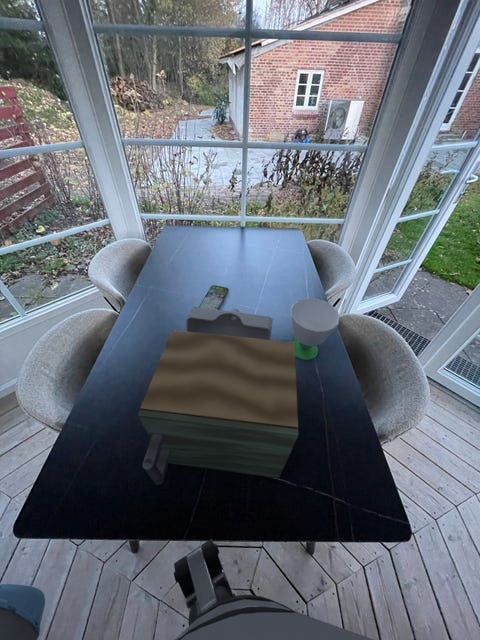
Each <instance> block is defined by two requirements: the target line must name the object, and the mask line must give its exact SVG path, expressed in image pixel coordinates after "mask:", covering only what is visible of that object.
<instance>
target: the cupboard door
mask: <svg viewBox="0 0 480 640" xmlns="http://www.w3.org/2000/svg"><path fill="white" fill-rule="evenodd" d="M137 417H138V419H139V421H140V422H141V424H142V426H143V428H144V430H145V431H146V433H147V435H148V436H149V439H150V440H149V444H148V447H147V450H146V453H145V456H144V459H143V462H142V469H143V470H144V471H145V472H146V473H147V475H148V476H149V478H150V479H151V480H152V482H153V483H154V484H155V485H157V486H160V485H162V484H163V483H164V482H165V481H164V480H165V478H166V473H167V470H168V466H169V464H172V465H179V466H187V467H192V468H200V469H201V468H202V469H208V470H217V471H222V472H231V473H236V474H237V473H238V474H245V475H251V476H252V475H253V476H259V477H268V478H276V479H279V478H280V477H281V474H282V472H283V470H284V468H285V466H286V465H287V461H288V460H289V457H290V455H291V453H292V451H293V448H294V446H295V444H296V441H297V440H298V437H299V429H293V428H285V427H277V426H268V425H260V424H252V423H244V422H236V421H227V420H219V419H211V418H203V417H195V416H187V415H178V414H170V413H162V412H154V411H146V410H141V409H139V411H138V413H137Z"/></svg>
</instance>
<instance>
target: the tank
mask: <svg viewBox="0 0 480 640" xmlns="http://www.w3.org/2000/svg"><path fill="white" fill-rule="evenodd" d="M185 323H186V325H185V327H186V328H185V329H186V330H185V332H194V333H204V334H214V335H224V336H234V337H244V338H254V339H264V340H271V338H272V337H271V336H272V329H273V328H272V327H273V318H272V317H270V316H266V315H259V314H252V313H247V312H246V313H245V312H240V310H239V309H238V308H232V309H231V311H230V310H222V309H219V310H216V309H209V308H201V307H199V306H192V307H191V309H190V311H189V313H188V315H187V318H186V321H185Z"/></svg>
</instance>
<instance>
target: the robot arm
mask: <svg viewBox="0 0 480 640" xmlns="http://www.w3.org/2000/svg"><path fill="white" fill-rule="evenodd" d="M219 556H220V550H219V547H218V544H217V543H216V542H214V540H213V538H210V539H208V540H207V541H205V542H204V543H202V544H200V545H199V546H198V547H197V548H195V549H193V550H192V551H191V552H189V553H187V554H186V555H184V556H183V557H181V558H179V560H177V561H175V562H174V563H173V568H174V572H173V577H174V580H175V583H177V584H178V585H179V588H180V591H181V592H182V595H183V597H184V598H183V599H184V602H185V606H186V609H187V610H189V612H188V627H187V628H186V629H184V630H183V631H182V632H181V633H179V635H178V636H177V637H176V638H174V640H375V639H374V638H371V637H369V636H366V635H362V634H359V633H358V632H355V631H351V630H348V629H346V628H343V627H340V626H337V625H335V624H331V623H328V622H326V621H323V620H320V619H317V618H314V617H312V616H309V615H308V614H304V613H301V612H299V611H296V610H293V609H292V608H290V607H288V606H287V605H285V604H282V603H280V602H278V601H275V600H273V599H270V598H268V597H265V596H262V595H256V594H240V595H236V593H233V590H232V587H231V586H230V583H229V580H228V577H227V575H226V573H225V570H224V566H223V565H222V562H221V559H220V557H219ZM45 597H46V596H45V593H44V592H43V590H42V589H40V588H38V587H35V586H30V585H25V584H15V583H13V584H12V583H2V584H0V640H38V639H39V637H40V634H41V633H40V632H41V622H42V619H43V615H44V611H45V607H46V598H45Z"/></svg>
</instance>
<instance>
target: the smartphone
mask: <svg viewBox="0 0 480 640" xmlns="http://www.w3.org/2000/svg"><path fill="white" fill-rule="evenodd" d="M228 294H229V288H228V287H226V286H219V285H214V284H213V285H211V286H210V287H209V289H208V290H207V292H206V294H205V296H204V297H203V298H202V300H201V302H200V305H199V306H198V307H201V308H209V309H216V310H221V307H222V305H223V303H224V301H225V299H226V297H227V295H228Z"/></svg>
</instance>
